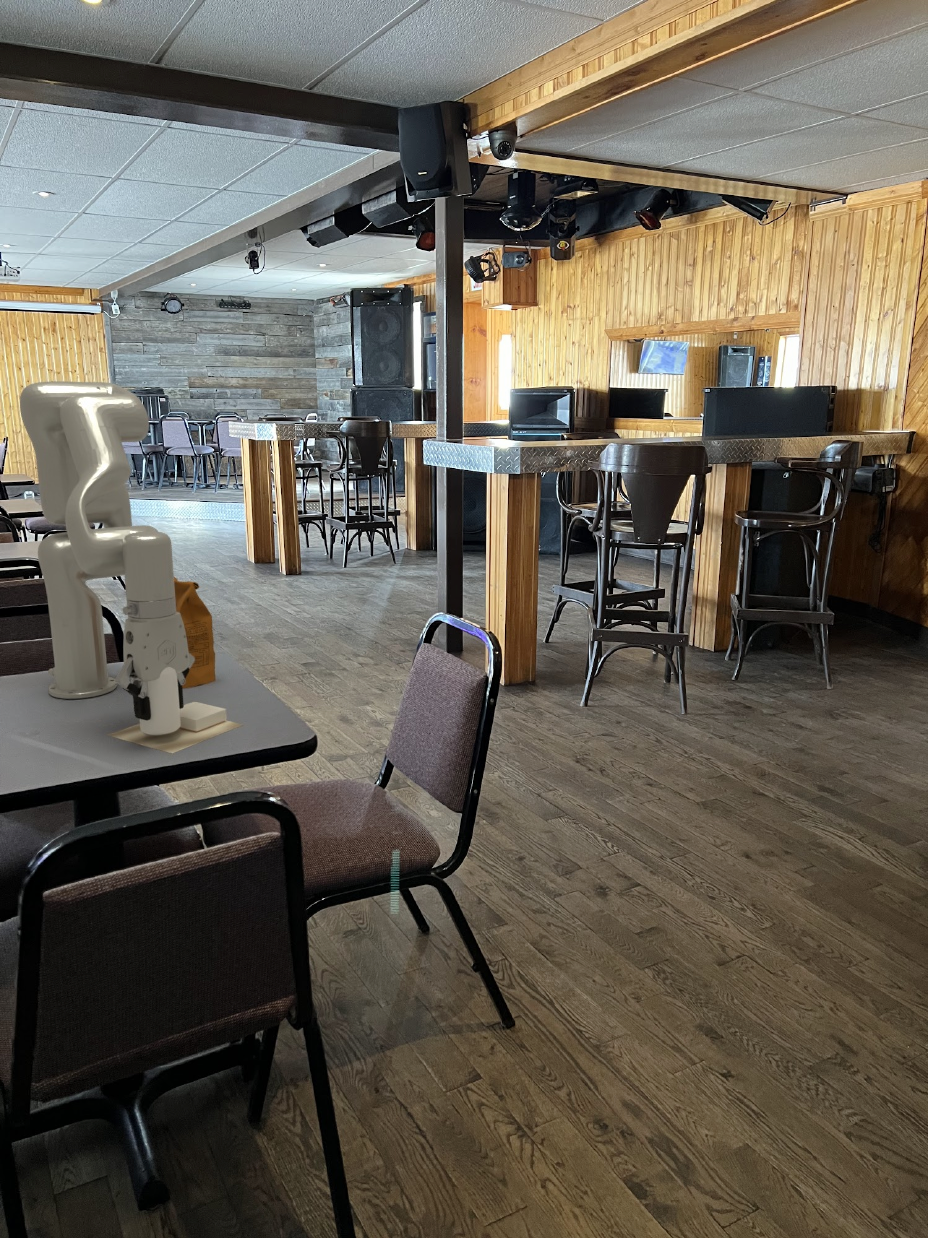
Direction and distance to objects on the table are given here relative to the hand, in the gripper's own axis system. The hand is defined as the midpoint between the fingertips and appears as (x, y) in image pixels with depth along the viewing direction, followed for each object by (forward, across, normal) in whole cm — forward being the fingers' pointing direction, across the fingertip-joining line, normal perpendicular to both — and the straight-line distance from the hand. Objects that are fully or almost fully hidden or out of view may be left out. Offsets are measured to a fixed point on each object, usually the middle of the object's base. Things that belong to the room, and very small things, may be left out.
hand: (159, 711), depth 154 cm
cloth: (+6, +4, +1) cm, 7 cm away
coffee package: (+6, +26, +23) cm, 35 cm away
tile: (+3, +8, +5) cm, 10 cm away
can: (+3, 0, 0) cm, 3 cm away
